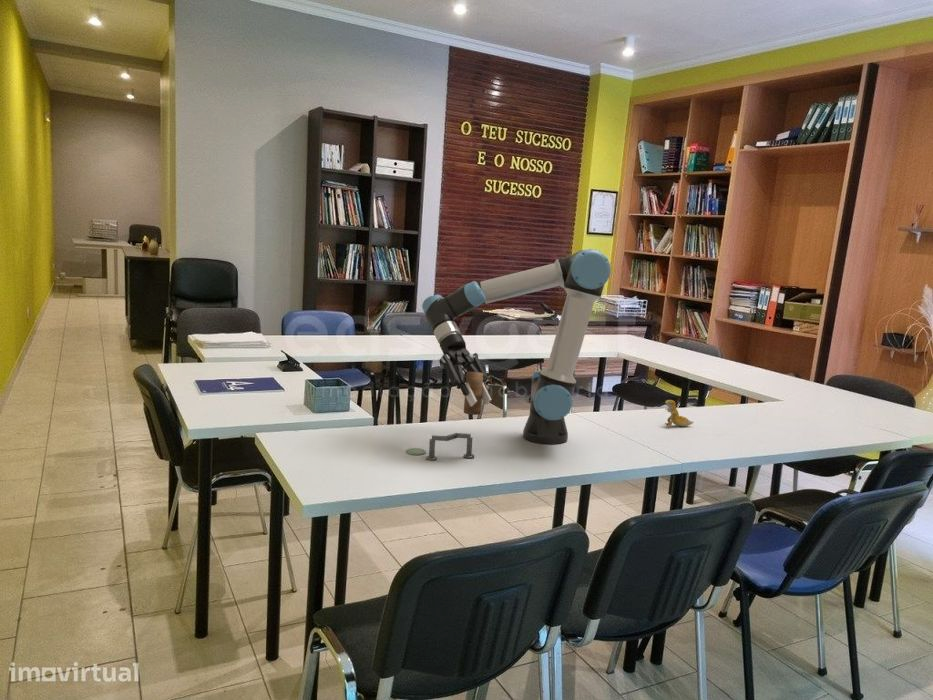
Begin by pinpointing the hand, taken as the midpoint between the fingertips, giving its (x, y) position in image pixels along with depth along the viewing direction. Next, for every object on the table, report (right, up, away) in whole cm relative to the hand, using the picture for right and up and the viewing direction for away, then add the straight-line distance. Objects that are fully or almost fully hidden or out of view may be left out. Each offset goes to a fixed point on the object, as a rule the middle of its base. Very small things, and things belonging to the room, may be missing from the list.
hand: (481, 402), depth 196 cm
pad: (-20, -16, +7) cm, 26 cm away
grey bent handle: (-9, -17, +3) cm, 19 cm away
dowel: (-3, -3, +3) cm, 5 cm away
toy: (+76, -14, +60) cm, 97 cm away
